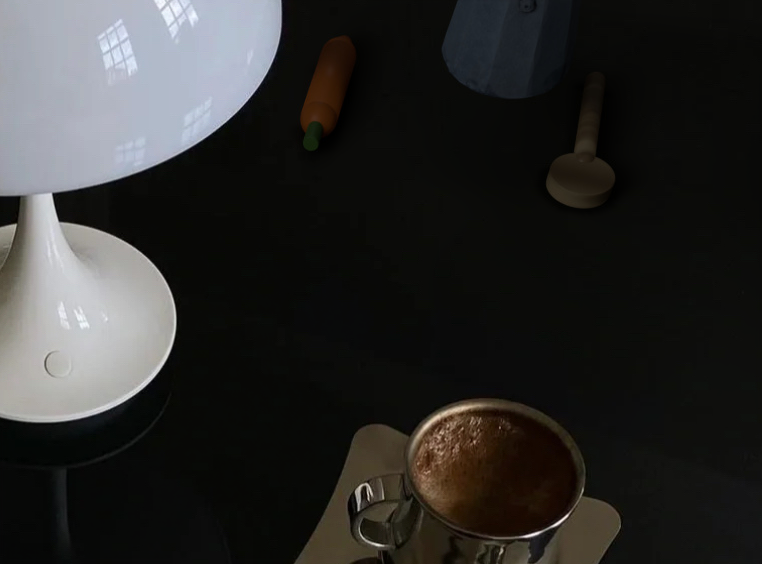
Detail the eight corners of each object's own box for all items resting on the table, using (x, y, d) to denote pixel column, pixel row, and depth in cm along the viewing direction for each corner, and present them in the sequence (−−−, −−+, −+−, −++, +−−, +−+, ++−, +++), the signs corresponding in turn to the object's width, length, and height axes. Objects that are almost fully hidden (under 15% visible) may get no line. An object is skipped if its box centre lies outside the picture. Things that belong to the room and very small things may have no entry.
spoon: (562, 81, 105) (568, 62, 104) (623, 91, 105) (629, 73, 104) (542, 201, 98) (548, 183, 96) (607, 214, 97) (614, 195, 96)
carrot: (326, 46, 107) (330, 13, 105) (360, 52, 107) (365, 19, 104) (290, 157, 100) (294, 123, 97) (326, 163, 99) (331, 130, 97)
